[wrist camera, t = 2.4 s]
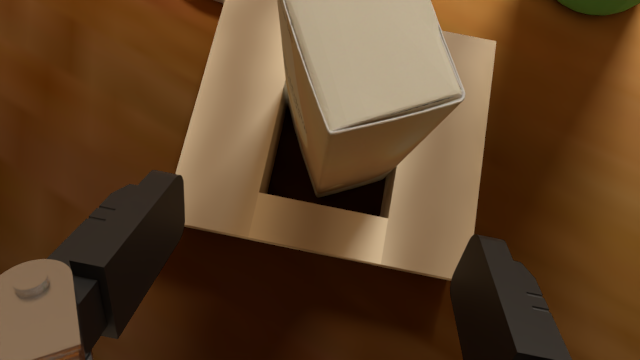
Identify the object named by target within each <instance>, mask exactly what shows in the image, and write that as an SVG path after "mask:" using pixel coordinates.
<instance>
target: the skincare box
mask: <svg viewBox="0 0 640 360" xmlns="http://www.w3.org/2000/svg"><path fill="white" fill-rule="evenodd" d="M277 4H278V12H279V21H280V30H281V40H282V50H283V59H284V69H285V77H286V88H287V99H288V106H289V110H290V114H291V118H292V122H293V126H294V129H295V133H296V136H297V140H298V143H299V147H300V150H301V154H302V157H303V160H304V162H305V165H306V168H307V171H308V174H309V177H310V180H311V183H312V186H313V189H314V192H315V195H316V197H323V196H327V195H331V194H335V193H339V192H342V191H346V190H350V189H353V188H357V187H360V186H364V185H367V184H370V183H374V182H377V181H380V180H383V179H384V178H385V177H386V176H387V175H388V174H389V173H390V172H391V171H392V170H393V169H394V168H395V167H396V166H397V165H398V164H399V163H400V162H401V161H402V160H403V159H404V158H405V157H406V156H407V155H408V154H409V153H410V152H412V151H413V150H414V149H415V148H416V147H417V146H418V145H419V144H420V143H421V142H422V141H423V140H424V139H425V138H426V137H427V136H428V135H429V134H430V133H431V132H432V131H433V130H434V129H435V128H436V127H437V126H438V125H439V124H440V123H441V122H442V121H443V120H444V119H445V118H446V117H447V116H448V115H449V114H450V113H451V112H452V111H453V110H454V109H455V108H456V107H457V106H458V105H459V104H460V103H461V102H463V100H464V99H465V95H466V94H465V90H464V88H463V85H462V83H461V80H460V78H459V75H458V72H457V70H456V67H455V64H454V62H453V59H452V57H451V54H450V52H449V49H448V46H447V44H446V42H445V39H444V36H443V34H442V31H441V28H440V25H439V22H438V19H437V17H436V13H435V11H434V8H433V5H432V3H431V1H430V0H277Z"/></svg>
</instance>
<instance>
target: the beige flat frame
mask: <svg viewBox="0 0 640 360" xmlns="http://www.w3.org/2000/svg"><path fill="white" fill-rule="evenodd" d="M442 34H443V36H444V39H445V42H446V44H447V46H448V49H449V52H450V54H451V57H452V59H453V62H454V64H455V67H456V70H457V72H458V75H459V78H460V80H461V83H462V85H463V88H464V90H465V94H466V95H465V99H464V100H463V102H461V103H460V104H459V105H458V106H457V107H456V108H455V109H454V110H453V111H452V112H451V113H450V114H449V115H448V116H447V117H446V118H445V119H444V120H443V121H442V122H441V123H440V124H439V125H438V126H437V127H436V128H435V129H434V130H433V131H432V132H431V133H430V134H429V135H428V136H427V137H426V138H425V139H424V140H423V141H422V142H421V143H420V144H419V145H418V146H417V147H416V148H415V149H414V150H413V151H412V152H410V153H409V154H408V155H407V156H406V157H405V158H404V159H403V160H402V161H401V162H400V163H399V164H398V165H397V166H396V167H395V168H394V169H393V170H392V171H391V172H390V173H389V174H388V175H387V176H386V181H385V187H384V193H383V199H382V205H381V211H380V216H379V217H378V216H373V215H368V214H363V213H359V212H354V211H349V210H344V209H339V208H334V207H329V206H324V205H319V204H314V203H309V202H304V201H299V200H294V199H289V198H284V197H279V196H274V195H269V194H267V193H268V188H269V184H270V180H271V175H272V171H273V167H274V162H275V158H276V154H277V149H278V145H279V141H280V137H281V132H282V128H283V124H284V119H285V115H286V111H287V106H288V99H287V88H286V77H285V69H284V59H283V50H282V40H281V30H280V21H279V12H278V4H277V0H225V1H224V5H223V8H222V12H221V15H220V19H219V22H218V26H217V30H216V33H215V37H214V40H213V44H212V47H211V51H210V54H209V58H208V61H207V65H206V68H205V72H204V75H203V79H202V82H201V86H200V89H199V93H198V96H197V100H196V103H195V107H194V110H193V114H192V117H191V121H190V124H189V128H188V131H187V135H186V138H185V142H184V145H183V149H182V152H181V156H180V160H179V163H178V167H177V170H176V174H177V175H181V176H182V177H183V181H184V203H185V225H184V227H189V228H194V229H199V230H203V231H208V232H213V233H218V234H223V235H228V236H233V237H238V238H243V239H248V240H253V241H257V242H262V243H267V244H272V245H277V246H282V247H287V248H292V249H297V250H302V251H306V252H311V253H316V254H321V255H326V256H331V257H336V258H341V259H346V260H351V261H356V262H360V263H365V264H370V265H375V266H380V267H385V268H390V269H395V270H400V271H405V272H410V273H414V274H419V275H424V276H429V277H434V278H439V279H444V280H450V281H451V279H452V276H453V273H454V271H455V269H456V267H457V265H458V262H459V260H460V258H461V256H462V254H463V252H464V250H465V248H466V246H467V244H468V241H469V240H470V238H471V237H472V236H473V235H474V229H475V220H476V212H477V203H478V195H479V186H480V177H481V169H482V160H483V152H484V143H485V135H486V126H487V117H488V109H489V100H490V92H491V83H492V75H493V66H494V57H495V49H496V41H492V40H487V39H482V38H477V37H472V36H466V35H461V34H456V33H451V32H446V31H442Z"/></svg>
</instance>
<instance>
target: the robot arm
mask: <svg viewBox="0 0 640 360" xmlns="http://www.w3.org/2000/svg"><path fill="white" fill-rule="evenodd" d="M184 225H185V203H184V181H183V177H182V176H181V175H177V174H172V173H167V172H162V171H157V170H152V171H151V172H150V173H149V174H148V175H147V176H146V177H145V178H144V179H143V180H142V181H141V182H140V184H139V185H138V186H137V185H132V184H129V185H127V186H125V187H123V188H121V189H119V190H117V191H115V192H113V193H111V194H110V195H109V196H108V197H107V198H106V199H105V200H104V202H103V203H102V204H101V205H100V206H99V208H97V209H96V210H95V211H94V212H93V213H92V214H91V215H90V216H89V218H88V219H86V220H85V221H84V222H83V223H82V224H81V225H80V226H79V227H78V228H77V229H76V230H75V231H74V232H73V233H72V234H71V235H70V236H69V237H68V238H67V239H66V240H65V241H64V242H63V243H62V244H61V245H60V246H59V247H58V248H57V249H56V250H55V251H54V252H53V253H52V254H51V255H50V256H49V257H48V258H47V259H39V260H33V261H28V262H25V263H22V264H19V265H17V266H15V267H13V268H11V269H9V270H7V271H6V272H4V273H3V274H2V275H0V360H94V359H93V353H92V348H93V346H94V345H95V343H96V342H97V340H98V339H99V338H100V336H105V337H110V338H115V339H118V338H119V336H120V335H121V333H122V332H123V330H124V328H125V327H126V325H127V324H128V322H129V320H130V319H131V317H132V316H133V314H134V312H135V311H136V309H137V308H138V306H139V304H140V303H141V301H142V300H143V298H144V296H145V295H146V293H147V292H148V290H149V288H150V287H151V285H152V284H153V282H154V280H155V279H156V277H157V276H158V274H159V272H160V271H161V269H162V268H163V266H164V264H165V263H166V261H167V260H168V258H169V256H170V255H171V253H172V252H173V250H174V249H175V247H176V245H177V244H178V242H179V240H180V238H181V236H182V233H183V230H184ZM450 295H451V301H452V306H453V311H454V315H455V320H456V325H457V330H458V335H459V340H460V345H461V350H462V355H463V360H572V359H571V357H570V355H569V352H568V350H567V348H566V346H565V343H564V341H563V339H562V337H561V335H560V332H559V330H558V328H557V326H556V324H555V321H554V319H553V317H552V315H551V313H549V311H548V310H549V308H548V306H547V304H546V301H545V299H544V298H542V293H541V290H540V288H539V286H538V284H537V282H536V279H535V278H534V277H533V275H532V274H531V273H530V272H529V271H528V270H527V269H526V268H525V267H524V265H523V264H522V263H521V262H517V261H513V259H512V256H511V254H510V251H509V249H508V247H507V244H506V242H505V241H504V240H502V239H497V238H492V237H487V236H482V235H477V234H474V235H473V236H472V237H471V238H470V240H469V241H468V244H467V246H466V248H465V250H464V252H463V254H462V256H461V258H460V260H459V262H458V265H457V267H456V269H455V271H454V273H453V276H452V279H451V286H450Z"/></svg>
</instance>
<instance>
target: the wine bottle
mask: <svg viewBox="0 0 640 360" xmlns="http://www.w3.org/2000/svg"><path fill="white" fill-rule="evenodd" d="M557 1H558V2H560V3H561V4H562V5H564V6H566V7H568V8H570V9H572V10H574V11H577V12H580V13H584V14H588V15H610V14H614V13H619V12H623V11H625V10H627V9H629V8H631V7H633V6H635V5H637V4H639V3H640V0H557Z"/></svg>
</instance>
